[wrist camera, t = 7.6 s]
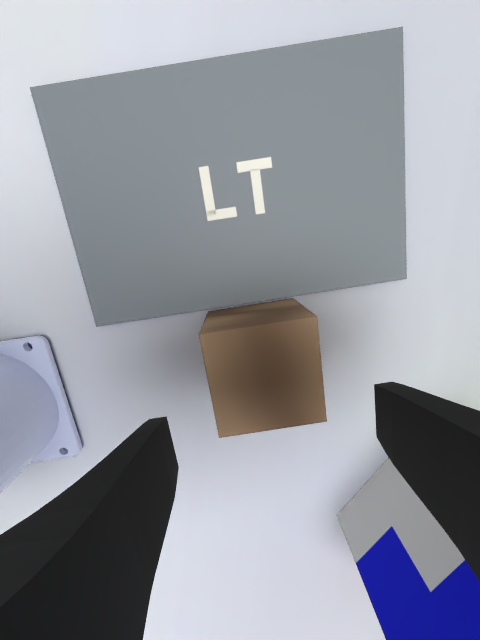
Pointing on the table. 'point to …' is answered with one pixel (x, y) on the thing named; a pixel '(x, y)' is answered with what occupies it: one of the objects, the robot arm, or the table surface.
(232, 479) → the table surface
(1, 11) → the table surface
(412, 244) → the table surface
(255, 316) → the walnut block
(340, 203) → the gray tile
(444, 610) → the puzzle toy
